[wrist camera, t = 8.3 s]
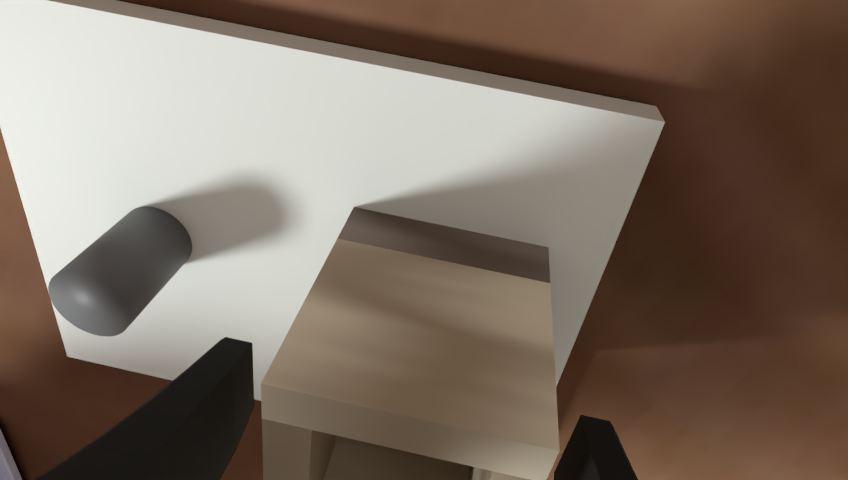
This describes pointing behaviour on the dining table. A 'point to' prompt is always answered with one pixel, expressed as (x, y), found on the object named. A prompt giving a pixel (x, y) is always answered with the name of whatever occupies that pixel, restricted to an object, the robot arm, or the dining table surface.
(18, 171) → the pinboard
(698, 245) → the dining table surface
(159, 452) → the robot arm
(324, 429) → the sleeve
